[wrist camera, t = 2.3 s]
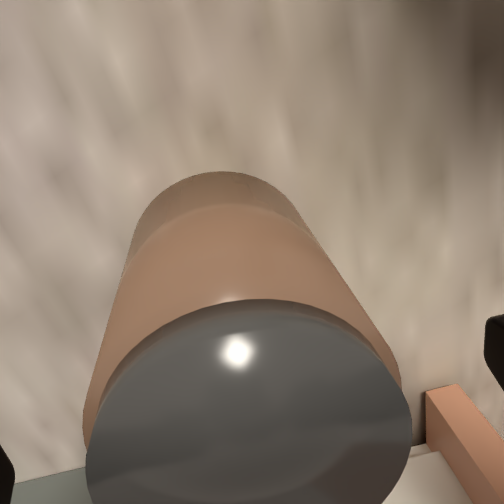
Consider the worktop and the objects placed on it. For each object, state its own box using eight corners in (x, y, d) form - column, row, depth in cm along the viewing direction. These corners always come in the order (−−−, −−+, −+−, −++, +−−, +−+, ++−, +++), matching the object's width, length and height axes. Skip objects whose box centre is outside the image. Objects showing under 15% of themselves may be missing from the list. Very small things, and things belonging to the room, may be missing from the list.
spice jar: (336, 278, 14) (468, 482, 7) (196, 358, 14) (203, 613, 8) (252, 134, 12) (335, 242, 5) (91, 235, 12) (-17, 448, 6)
